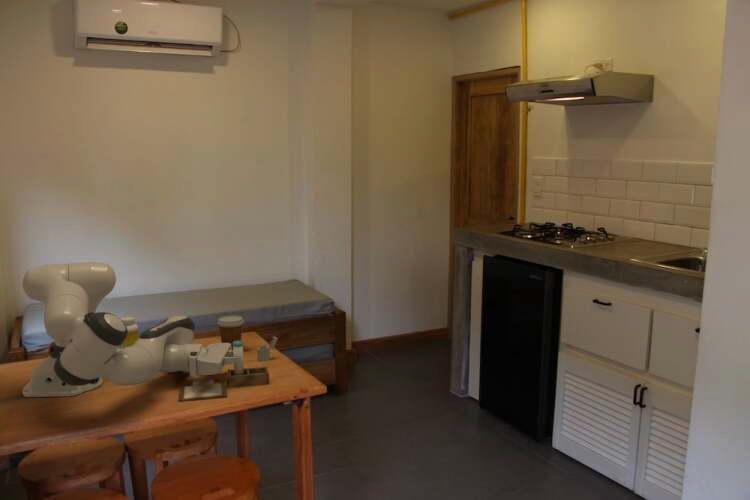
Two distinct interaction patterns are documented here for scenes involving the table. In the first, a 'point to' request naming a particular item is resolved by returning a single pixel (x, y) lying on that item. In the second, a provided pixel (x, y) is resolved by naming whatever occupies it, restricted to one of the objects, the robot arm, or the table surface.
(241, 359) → the marker
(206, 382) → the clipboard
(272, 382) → the table surface
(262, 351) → the lighter
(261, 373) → the box
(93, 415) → the table surface
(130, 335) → the supplement bottle
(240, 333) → the disposable coffee cup
